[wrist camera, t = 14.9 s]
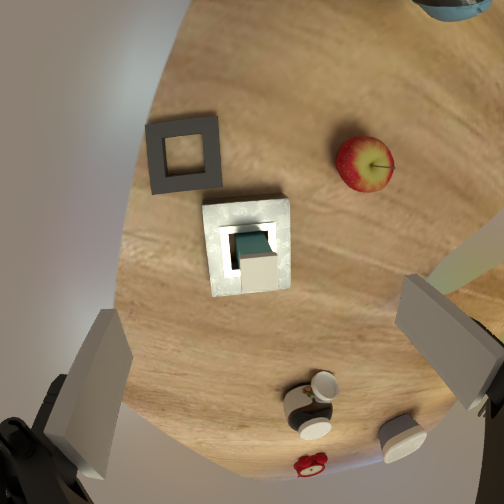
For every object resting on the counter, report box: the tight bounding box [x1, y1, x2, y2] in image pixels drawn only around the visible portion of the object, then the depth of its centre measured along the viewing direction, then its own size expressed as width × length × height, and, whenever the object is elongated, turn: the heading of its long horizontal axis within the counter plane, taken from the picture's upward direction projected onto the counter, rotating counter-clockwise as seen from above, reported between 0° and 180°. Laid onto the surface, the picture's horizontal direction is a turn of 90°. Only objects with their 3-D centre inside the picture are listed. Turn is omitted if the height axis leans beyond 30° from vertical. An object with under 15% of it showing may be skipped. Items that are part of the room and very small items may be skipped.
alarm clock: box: [294, 453, 328, 478], centre depth 74 cm, size 10×6×15 cm
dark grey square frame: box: [145, 116, 223, 195], centre depth 38 cm, size 10×10×2 cm
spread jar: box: [283, 371, 339, 440], centre depth 55 cm, size 12×11×12 cm
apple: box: [336, 136, 395, 192], centre depth 38 cm, size 8×8×10 cm
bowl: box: [379, 414, 427, 464], centre depth 71 cm, size 15×15×11 cm
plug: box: [235, 231, 279, 293], centre depth 40 cm, size 4×4×12 cm
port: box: [202, 193, 290, 297], centre depth 44 cm, size 14×12×4 cm
